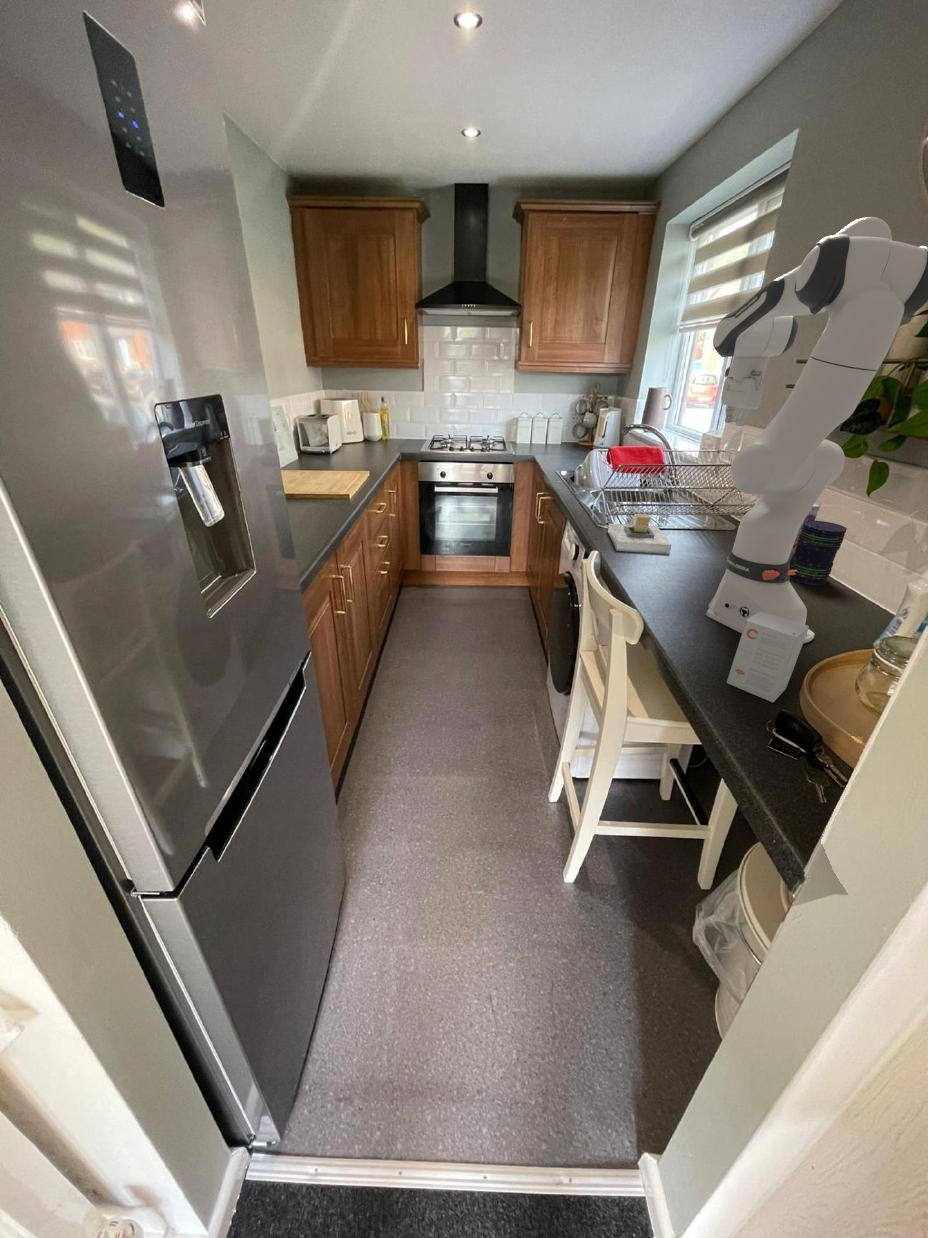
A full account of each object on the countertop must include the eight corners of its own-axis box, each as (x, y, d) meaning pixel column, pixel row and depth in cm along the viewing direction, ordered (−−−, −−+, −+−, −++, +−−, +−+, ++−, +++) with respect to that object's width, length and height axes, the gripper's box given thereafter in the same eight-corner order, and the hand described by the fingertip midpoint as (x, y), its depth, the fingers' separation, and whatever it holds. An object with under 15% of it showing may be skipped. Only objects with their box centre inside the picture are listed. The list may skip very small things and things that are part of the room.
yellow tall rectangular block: (644, 544, 160) (649, 517, 156) (631, 544, 160) (636, 516, 156) (642, 541, 163) (647, 514, 159) (629, 540, 164) (634, 513, 159)
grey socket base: (669, 554, 152) (672, 541, 150) (616, 550, 154) (618, 538, 152) (655, 534, 170) (657, 523, 168) (607, 531, 171) (609, 520, 170)
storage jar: (802, 569, 143) (820, 519, 136) (835, 582, 135) (856, 529, 128) (777, 573, 140) (794, 521, 133) (809, 586, 132) (829, 532, 125)
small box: (785, 690, 88) (811, 625, 82) (773, 704, 84) (798, 637, 78) (739, 670, 94) (759, 609, 88) (725, 683, 90) (745, 619, 84)
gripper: (776, 371, 127) (759, 428, 133) (745, 370, 145) (732, 421, 151) (750, 370, 127) (735, 427, 134) (723, 369, 145) (711, 420, 152)
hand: (733, 424), depth 142 cm, fingers open, 8 cm apart
